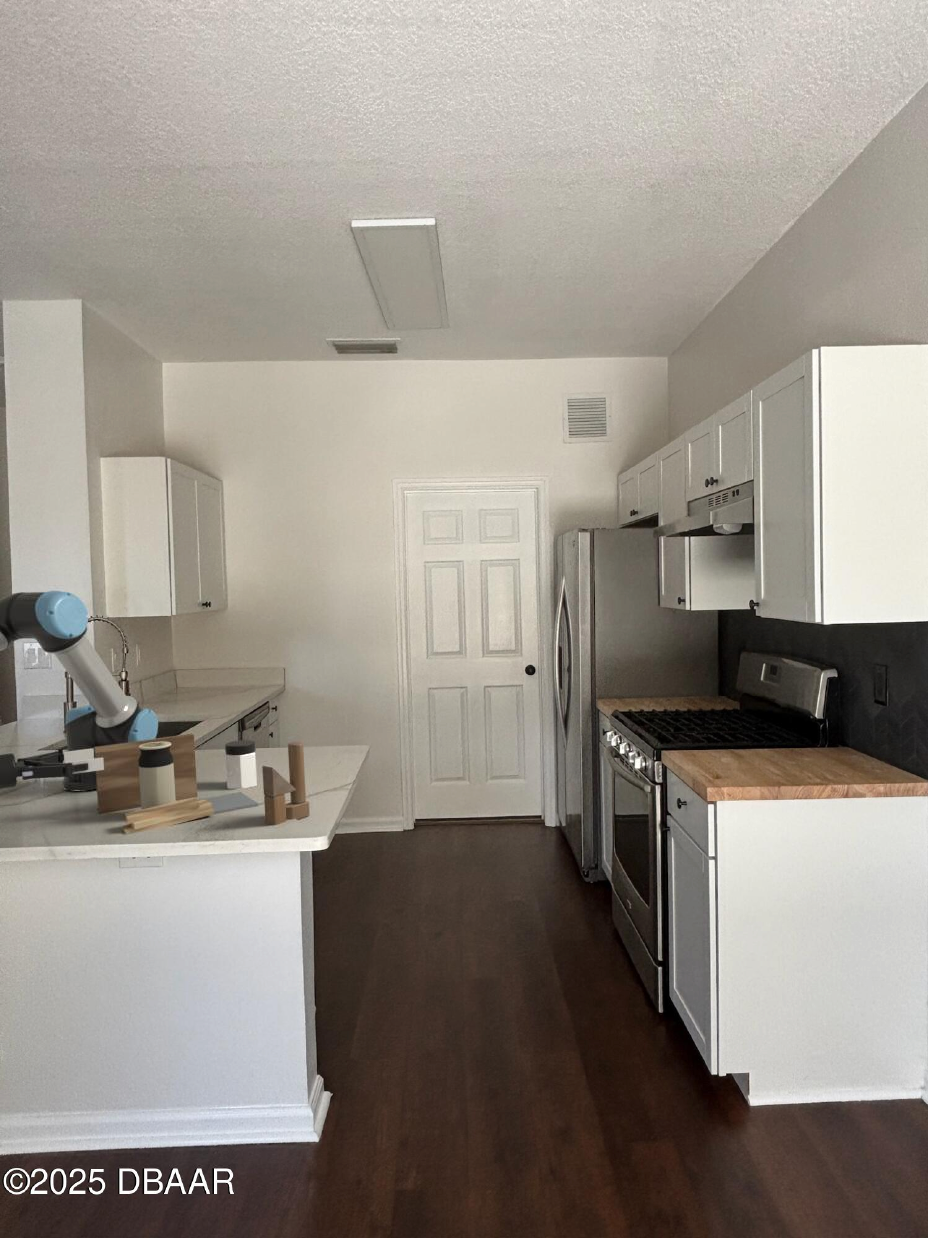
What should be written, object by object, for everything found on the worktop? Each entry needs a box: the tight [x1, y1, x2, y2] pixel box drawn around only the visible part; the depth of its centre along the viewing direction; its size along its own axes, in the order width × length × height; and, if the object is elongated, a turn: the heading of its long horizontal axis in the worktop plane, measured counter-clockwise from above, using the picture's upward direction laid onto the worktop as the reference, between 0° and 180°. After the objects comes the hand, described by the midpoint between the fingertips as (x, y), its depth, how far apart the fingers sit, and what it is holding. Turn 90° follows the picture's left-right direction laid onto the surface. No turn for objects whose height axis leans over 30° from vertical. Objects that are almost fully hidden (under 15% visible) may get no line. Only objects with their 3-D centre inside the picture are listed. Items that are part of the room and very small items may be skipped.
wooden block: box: [261, 741, 310, 826], centre depth 197 cm, size 4×11×18 cm, turn 143°
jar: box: [224, 739, 258, 790], centre depth 231 cm, size 9×8×12 cm
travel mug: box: [138, 741, 177, 810], centre depth 204 cm, size 8×8×18 cm
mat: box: [197, 791, 259, 816], centre depth 211 cm, size 14×14×1 cm
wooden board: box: [94, 733, 198, 815], centre depth 214 cm, size 4×24×17 cm, turn 123°
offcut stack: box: [121, 797, 215, 835], centre depth 197 cm, size 6×20×4 cm, turn 123°
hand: (98, 758), depth 196 cm, fingers open, 13 cm apart
